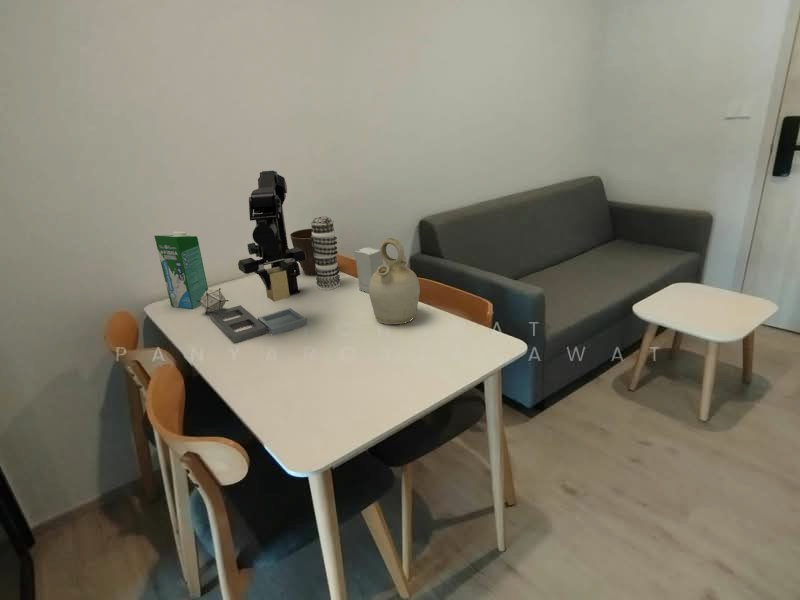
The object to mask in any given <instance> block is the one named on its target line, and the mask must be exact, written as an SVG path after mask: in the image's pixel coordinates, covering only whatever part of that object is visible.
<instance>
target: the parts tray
mask: <svg viewBox="0 0 800 600" xmlns="http://www.w3.org/2000/svg"><path fill="white" fill-rule="evenodd" d="M257 319H258V320H259V321H260V322H261V323H262V324H264V325H265V326H266V327H267V332H268V333H269V334H270V335H271V334H272V335H271V336H276V335H279V334H282V333H285V332H288V331H292V330H295V329H298V328H301V327H304V326H307V325H308V323H307V318H306V317H304V316H303V315H301V314H300V313H299V312H297V311H296V310H294V309H293V308H291V307H290V308H289V307H288V308H286V309H282V310H278V311H276V312H272V313H269V314H268V313H267V314H265V315H262V316H258V317H257Z"/></svg>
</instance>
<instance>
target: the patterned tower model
mask: <svg viewBox="0 0 800 600" xmlns="http://www.w3.org/2000/svg"><path fill="white" fill-rule="evenodd" d="M334 223H335V222H334V220H332V218H331V217H329V216H317V217H314V218H313V220H312V221H311V222H310V225H311V229H312V234H311V235H310V237H312V238H311V241H312V247H313V248H312V251H314V253H313V254H314V257H315V260H316V264H315V265H316V268H315V271H316V275H315V279H316V285H317V288H318V289H319V288H320V289H319V290H322V289H330V290H333V289H332V288H335V289H337V288H339V287H340V286H341V279H340V278H341V277H340V276H341V275H340V270H339V269H340V266H338V265H339V264H338V261H337V255H338V253H339V252H338V250H337V249H338V247H337V246H336V245H337V244H338V241H336V240H337V239H338V237H337V236H335V229H334ZM314 249H315V250H314ZM339 285H340V286H339ZM338 286H339V287H338ZM336 287H337V288H336Z"/></svg>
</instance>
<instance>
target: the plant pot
mask: <svg viewBox="0 0 800 600" xmlns="http://www.w3.org/2000/svg"><path fill="white" fill-rule="evenodd" d="M311 234H312V228H305V229H304V228H303V229H299V230H296V231H293V232H291V233H290V234H289V236H290V240H291V243H292V246H293V247H292V248H296V247H297V248H299V249H301V250H303V251H305V253H306V260H303V261H299V262H298V264H299V266H300V268H301V269H302V271H303V273H304V275H307V276H317V275H316V271H315V268H316V265H315V264H316V260H315V257H314V254H313V253H314V251H312V248H313V247H312V241H311V238H312V237H310V235H311ZM314 250H315V249H314Z"/></svg>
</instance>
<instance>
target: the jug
mask: <svg viewBox="0 0 800 600" xmlns="http://www.w3.org/2000/svg"><path fill="white" fill-rule="evenodd" d="M388 245H392V246H394V247H395V250H396V251H397V258H392V257H390V256H389V255H388V253H387V246H388ZM379 250H380V253H381V256H382V260H383V261H384V262H385V263H386V264H383V265H381V266H379V267H378V269H377V271H376V272H375V273H374V274H373V275H372V277H371V280H370V283H369V293H368V294H369V299H370V304H371V307H372V310H373V314H374V316H375V320H376V319H377V320H376V321H377V322H378V321H379V322H378V323H380V322H381V323H380V324H383V323H384V324H383V325H387V324H400V325H402V324H401V323H405V322H408V321H410V320H411V319H412V318H414V316H415V317H416V314H417V310H418V304H419V301H420V300H419V299H420V294H421V286H420V280H419V279H418V277H417V274H416V272H414V271H413V270H412V269H411V268H409V267H407V266H406V265H407V264H408V262H407V259H406V255H405V249H404V246H403V244H402V243H401V242H400V241H399V240H398V239H396V238H392V237H391V238H386V239H385V240H384V241H382V243H381V245H380V249H379ZM414 319H415V318H414ZM410 322H411V321H410ZM408 323H409V322H408ZM405 324H406V323H405Z"/></svg>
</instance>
